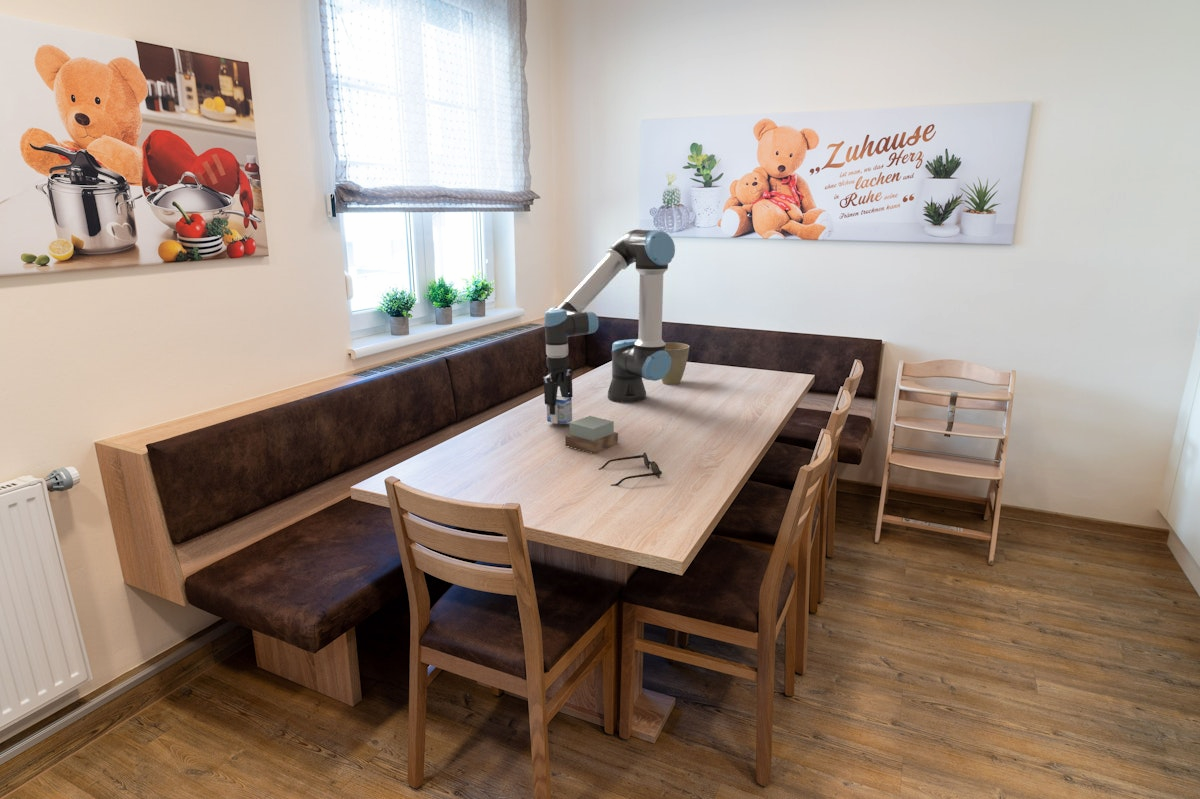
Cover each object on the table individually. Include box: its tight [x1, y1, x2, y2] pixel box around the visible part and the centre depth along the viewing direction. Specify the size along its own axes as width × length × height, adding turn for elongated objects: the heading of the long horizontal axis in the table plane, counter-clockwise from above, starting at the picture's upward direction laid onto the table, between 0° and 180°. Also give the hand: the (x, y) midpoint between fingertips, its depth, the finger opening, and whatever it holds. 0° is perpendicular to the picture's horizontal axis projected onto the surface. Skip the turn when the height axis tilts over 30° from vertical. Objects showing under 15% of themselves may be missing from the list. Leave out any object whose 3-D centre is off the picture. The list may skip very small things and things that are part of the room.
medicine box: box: [546, 395, 573, 425], centre depth 250 cm, size 8×4×9 cm, turn 62°
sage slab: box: [568, 415, 615, 441], centre depth 229 cm, size 10×10×4 cm
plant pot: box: [661, 342, 690, 386], centre depth 303 cm, size 15×15×16 cm
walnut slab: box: [564, 431, 619, 455], centre depth 230 cm, size 12×12×4 cm
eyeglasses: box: [598, 452, 663, 487], centre depth 205 cm, size 15×15×5 cm
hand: (559, 420), depth 251 cm, fingers closed on medicine box, 5 cm apart
